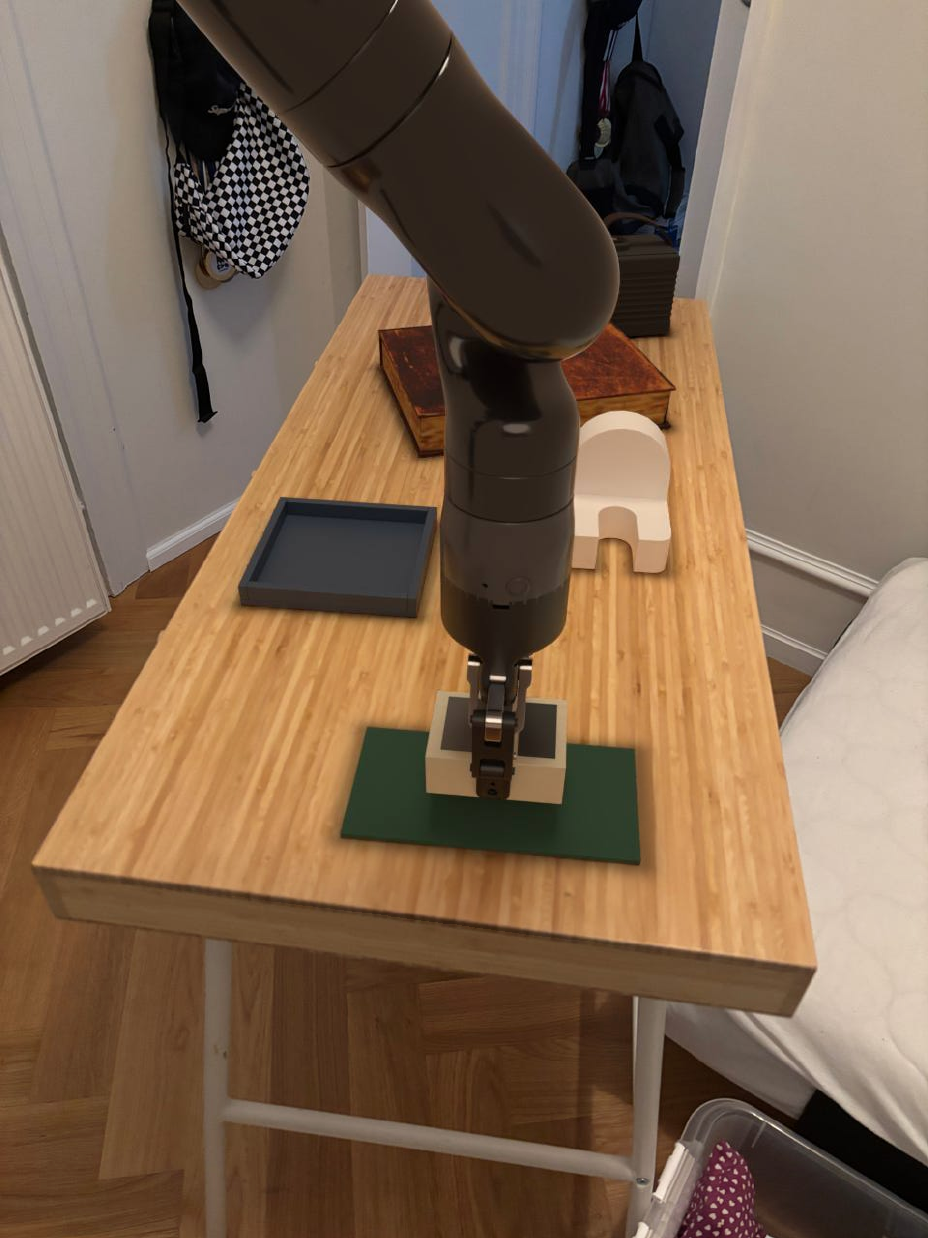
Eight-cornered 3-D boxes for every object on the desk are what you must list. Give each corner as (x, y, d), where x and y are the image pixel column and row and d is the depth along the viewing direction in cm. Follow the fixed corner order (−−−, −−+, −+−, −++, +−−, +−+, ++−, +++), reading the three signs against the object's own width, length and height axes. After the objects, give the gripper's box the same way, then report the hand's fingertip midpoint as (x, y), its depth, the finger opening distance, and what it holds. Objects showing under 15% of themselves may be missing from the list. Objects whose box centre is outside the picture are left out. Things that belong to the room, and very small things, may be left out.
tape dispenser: (653, 474, 100) (669, 380, 94) (666, 573, 86) (685, 471, 80) (564, 468, 101) (572, 375, 94) (562, 567, 87) (572, 465, 80)
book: (596, 345, 126) (600, 309, 123) (670, 428, 108) (676, 388, 105) (379, 366, 120) (377, 329, 117) (419, 457, 102) (418, 416, 99)
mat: (340, 837, 63) (340, 833, 63) (367, 730, 71) (367, 726, 70) (639, 864, 62) (640, 861, 61) (634, 752, 69) (634, 748, 69)
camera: (554, 313, 135) (562, 203, 126) (645, 307, 137) (660, 199, 128) (575, 343, 127) (585, 228, 117) (672, 336, 129) (690, 223, 119)
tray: (240, 604, 82) (237, 585, 81) (282, 514, 93) (280, 496, 92) (416, 617, 81) (416, 598, 80) (437, 524, 92) (437, 506, 91)
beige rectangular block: (426, 793, 62) (425, 755, 60) (437, 726, 67) (437, 688, 65) (561, 804, 62) (566, 766, 59) (563, 736, 66) (567, 698, 64)
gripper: (454, 485, 59) (453, 680, 70) (423, 632, 48) (428, 837, 59) (573, 493, 58) (554, 687, 69) (570, 643, 47) (548, 847, 58)
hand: (496, 755), depth 64 cm, fingers closed on beige rectangular block, 6 cm apart
